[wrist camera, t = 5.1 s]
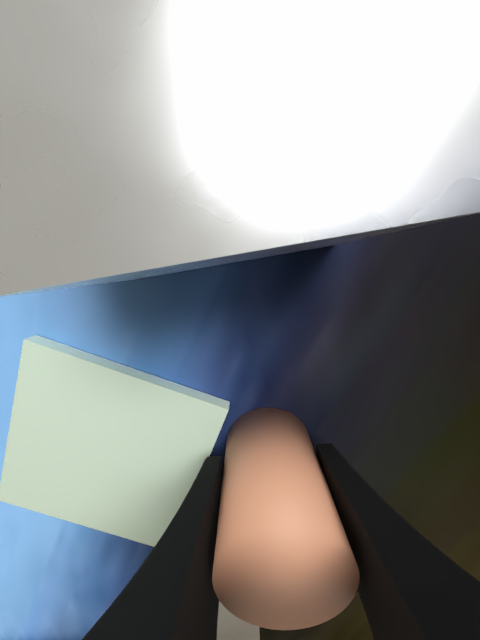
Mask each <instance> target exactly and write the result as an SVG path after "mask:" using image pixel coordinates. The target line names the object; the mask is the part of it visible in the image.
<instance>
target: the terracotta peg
mask: <svg viewBox="0 0 480 640" xmlns="http://www.w3.org/2000/svg"><path fill="white" fill-rule="evenodd" d="M359 576H360V575H359V569H358V565H357V563H356V560H355V557H354V555H353V552H352V549H351V547H350V544H349V541H348V539H347V536H346V533H345V531H344V528H343V525H342V523H341V520H340V517H339V515H338V512H337V509H336V506H335V504H334V501H333V498H332V496H331V493H330V490H329V488H328V485H327V482H326V480H325V477H324V474H323V472H322V469H321V466H320V464H319V461H318V458H317V456H316V453H315V450H314V448H313V445H312V442H311V440H310V437H309V434H308V432H307V429H306V427H305V426H304V424H303V423H302V422H301V421H300V420H299V419H298V418H297V417H296V416H295V415H293V414H291V413H290V412H288V411H285V410H282V409H278V408H269V407H266V408H258V409H254V410H251V411H249V412H247V413H245V414H243V415H242V416H240V417H239V418H238V419H237V420H236V421H235V422H234V423H233V425H232V426H231V428H230V430H229V432H228V435H227V441H226V450H225V459H224V469H223V478H222V488H221V497H220V507H219V516H218V526H217V535H216V545H215V554H214V563H213V573H212V582H213V588H214V591H215V593H216V596H217V597H218V599H219V601H220V602H221V603H222V605H223V606H224V607H225V608H226V609H227V610H228V611H229V612H230V613H232V614H233V615H234V616H236V617H238V618H239V619H241V620H243V621H245V622H247V623H249V624H252V625H255V626H258V627H262V628H267V629H274V630H297V629H304V628H309V627H313V626H316V625H319V624H321V623H324V622H326V621H328V620H330V619H332V618H334V617H335V616H337V615H338V614H339V613H341V612H342V611H343V610H344V609H345V608H346V607H347V606H348V605H349V604H350V603H351V601H352V600H353V598H354V596H355V595H356V592H357V590H358V586H359Z"/></svg>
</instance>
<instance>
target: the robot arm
mask: <svg viewBox="0 0 480 640" xmlns="http://www.w3.org/2000/svg"><path fill="white" fill-rule="evenodd" d="M316 449H317V458H318V461H319V464H320V466H321V469H322V472H323V474H324V477H325V480H326V482H327V485H328V488H329V490H330V493H331V496H332V498H333V501H334V504H335V506H336V509H337V512H338V515H339V517H340V520H341V523H342V525H343V528H344V531H345V533H346V536H347V539H348V541H349V544H350V547H351V549H352V552H353V555H354V557H355V560H356V563H357V565H358V569H359V575H360V576H359V586H358V592H359V595H360V598H361V600H362V603H363V606H364V609H365V612H366V615H367V618H368V621H369V624H370V627H371V630H372V633H373V637H374V640H480V582H479V581H478V580H477V579H475V578H474V577H473V576H471V575H470V574H469V573H467V572H466V571H465V570H464V569H462V568H461V567H460V566H458V565H457V564H456V563H455V562H453V561H452V560H451V559H450V558H449V557H447V556H446V555H445V554H444V553H442V552H441V551H440V550H439V549H438V548H436V547H435V546H434V545H433V544H432V543H430V542H429V541H428V540H427V539H426V538H425V537H423V536H422V535H421V534H420V533H419V532H418V531H416V530H415V529H414V528H413V527H412V526H411V525H410V524H409V523H408V522H406V521H405V520H404V519H403V518H402V517H401V516H400V515H399V514H398V513H397V512H396V511H395V510H394V509H393V508H391V507H390V506H389V505H388V504H387V503H386V502H385V501H384V500H383V499H382V498H381V497H380V496H379V495H378V494H377V493H376V492H375V491H374V490H373V489H372V488H371V487H370V486H369V485H368V484H367V483H366V482H365V480H364V479H363V478H362V477H361V476H360V475H359V474H358V473H357V472H356V471H355V470H354V469H353V468H352V466H351V465H350V464H349V463H348V462H347V461H346V460H345V458H344V457H343V456H342V455H341V454H340V453H339V451H338V450H337V449H336V448H335V447H334V445H332V444H331V443H330V444H321V445H316ZM223 469H224V468H223V463H222V458H221V455H219V456H210V457H207V458H206V459H205V460H204V462H203V465H202V467H201V469H200V471H199V473H198V475H197V477H196V479H195V480H194V482H193V484H192V486H191V488H190V490H189V492H188V493H187V495H186V497H185V499H184V500H183V502H182V504H181V506H180V507H179V509H178V511H177V513H176V514H175V516H174V517H173V519H172V521H171V522H170V524H169V525H168V527H167V529H166V530H165V532H164V533H163V535H162V536H161V538H160V539H159V541H158V542H157V544H156V545H155V547H154V548H153V550H152V551H151V553H150V554H149V556H148V557H147V558H146V560H145V561H144V563H143V564H142V565H141V567H140V568H139V570H138V571H137V572H136V573H135V575H134V576H133V577H132V579H131V580H130V581H129V583H128V584H127V585H126V587H125V588H124V589H123V591H122V592H121V593H120V594H119V596H118V597H117V598H116V599H115V601H114V602H113V603H112V604H111V606H110V607H109V608H108V609H107V611H106V612H105V613H104V614H103V615H102V616H101V618H100V619H99V620H98V621H97V622H96V624H95V625H94V626H93V627H92V628H91V629H90V631H89V632H88V633H87V634H86V635H85V636H84V638H83V639H82V640H217V621H218V609H219V599H218V597H217V596H216V593H215V591H214V588H213V582H212V573H213V563H214V554H215V545H216V535H217V526H218V516H219V507H220V497H221V488H222V478H223Z"/></svg>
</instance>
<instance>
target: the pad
mask: <svg viewBox="0 0 480 640" xmlns="http://www.w3.org/2000/svg"><path fill="white" fill-rule="evenodd" d="M229 404H230V402H229V401H226V400H223V399H220V398H217V397H214V396H211V395H209V394H206V393H203V392H200V391H197V390H194V389H191V388H188V387H185V386H183V385H180V384H177V383H174V382H171V381H168V380H165V379H162V378H159V377H157V376H154V375H151V374H148V373H145V372H142V371H139V370H136V369H133V368H131V367H128V366H125V365H122V364H119V363H116V362H113V361H110V360H107V359H105V358H102V357H99V356H96V355H93V354H90V353H87V352H84V351H81V350H79V349H76V348H73V347H70V346H67V345H64V344H61V343H58V342H55V341H53V340H50V339H47V338H44V337H41V336H38V335H35V336H32V337H29V338H26V339H24V340H23V346H22V352H21V359H20V365H19V371H18V377H17V383H16V390H15V396H14V402H13V408H12V414H11V421H10V427H9V433H8V439H7V445H6V452H5V458H4V464H3V470H2V476H1V483H0V501H2V502H6V503H9V504H12V505H16V506H19V507H23V508H26V509H29V510H33V511H36V512H39V513H43V514H46V515H49V516H53V517H56V518H59V519H63V520H66V521H69V522H73V523H76V524H79V525H83V526H86V527H89V528H93V529H96V530H99V531H103V532H106V533H110V534H113V535H116V536H120V537H123V538H126V539H130V540H133V541H136V542H140V543H143V544H146V545H150V546H153V547H155V545H156V544H157V542H158V541H159V539H160V538H161V536H162V535H163V533H164V532H165V530H166V529H167V527H168V525H169V524H170V522H171V521H172V519H173V517H174V516H175V514H176V513H177V511H178V509H179V507H180V506H181V504H182V502H183V500H184V499H185V497H186V495H187V493H188V492H189V490H190V488H191V486H192V484H193V482H194V480H195V479H196V477H197V475H198V473H199V471H200V469H201V467H202V465H203V462H204V460H205V459H206V458H207V457H210V454H211V452H212V449H213V447H214V444H215V442H216V440H217V437H218V435H219V432H220V430H221V428H222V425H223V423H224V420H225V418H226V415H227V413H228V411H229Z"/></svg>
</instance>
